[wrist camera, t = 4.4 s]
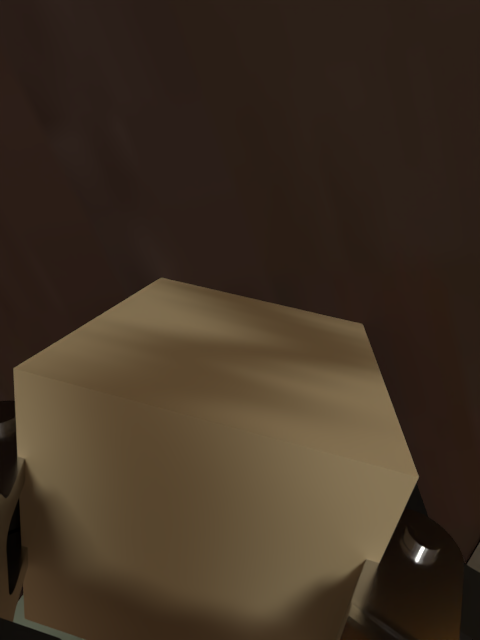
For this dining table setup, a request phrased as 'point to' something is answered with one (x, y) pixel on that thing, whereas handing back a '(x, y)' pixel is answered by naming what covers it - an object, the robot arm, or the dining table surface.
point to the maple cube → (205, 470)
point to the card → (475, 559)
